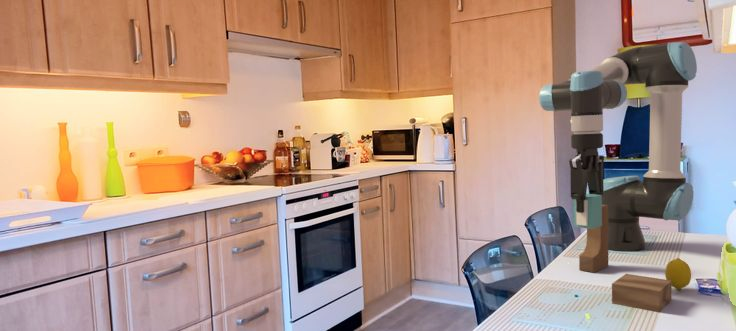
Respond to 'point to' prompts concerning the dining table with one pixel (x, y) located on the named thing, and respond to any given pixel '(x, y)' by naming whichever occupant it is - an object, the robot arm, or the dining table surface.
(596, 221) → the teal block
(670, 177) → the robot arm
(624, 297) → the walnut base block
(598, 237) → the wooden block
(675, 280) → the lemon
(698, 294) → the dining table surface
